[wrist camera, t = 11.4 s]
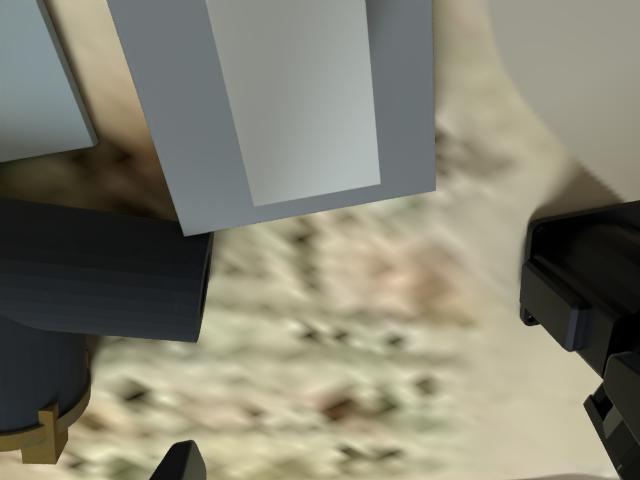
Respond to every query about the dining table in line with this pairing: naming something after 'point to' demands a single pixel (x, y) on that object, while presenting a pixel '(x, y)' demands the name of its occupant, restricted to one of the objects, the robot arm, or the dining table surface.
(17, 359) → the pipe connector
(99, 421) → the dining table surface
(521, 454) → the dining table surface
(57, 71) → the slate mat
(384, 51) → the header
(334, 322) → the dining table surface
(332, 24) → the grey plug
